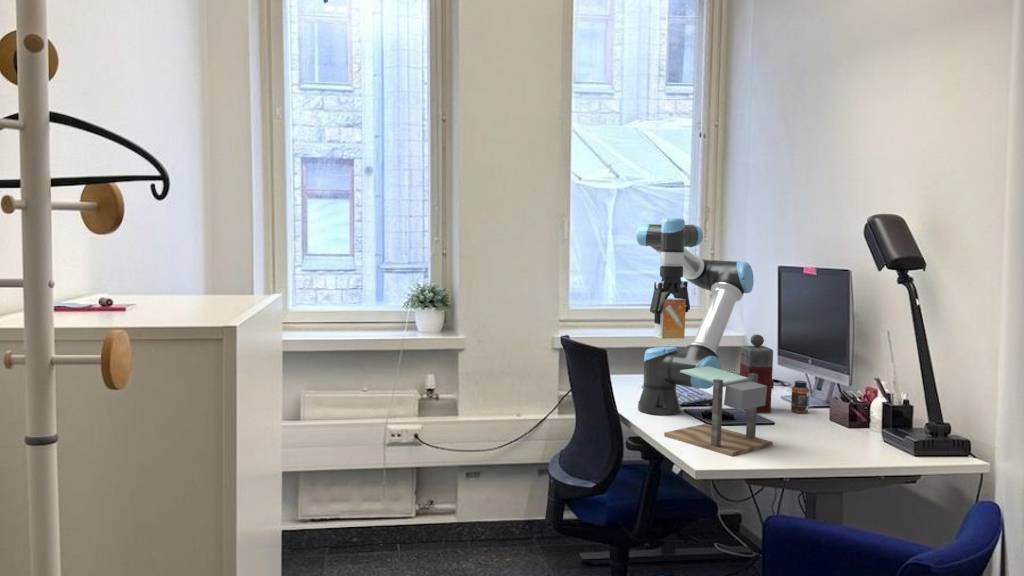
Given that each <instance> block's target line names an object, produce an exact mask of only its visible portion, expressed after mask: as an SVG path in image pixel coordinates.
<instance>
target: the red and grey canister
mask: <svg viewBox="0 0 1024 576" xmlns="http://www.w3.org/2000/svg"><path fill="white" fill-rule="evenodd" d="M764 341H765V340H764V337H763V336H762V335H761V334H759V333H757V334H753V335H752V336H751V337H750V343H751V345H741V346H740V358H739V359H740V360H739V363H740V364H739V375H740V376H744V377H747V378H748V375H749V374H751V373H754V374H758V384H762V385H765V386H767V394H766V402H765V405H764V406H760V407H757V410H756V414H771V411H772V391H773V390H772V388H773V387H772V386H773V369H774V367H773V363H774V350H773V349H772V348H770V347H768V346H765V345H763V344H764ZM745 411H746V412H747V409H745V410H744V411H743V412H745ZM746 412H745V413H746Z"/></svg>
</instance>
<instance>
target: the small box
mask: <svg viewBox="0 0 1024 576" xmlns="http://www.w3.org/2000/svg"><path fill="white" fill-rule="evenodd" d="M685 309H686V300H685V299H679V298H674V297H668V298H667V299H666V300H664V303H663V311H662V313H661V314H663V334H656V333H655V332H654V337H655V338H659V339H661V340H663V339H666V340H667V339H669V340H670V339H671V340H672V339H675V340H679V339H681V340H684V339H685V330H686V329H685V328H686V312H685ZM658 310H659V309H658Z"/></svg>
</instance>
